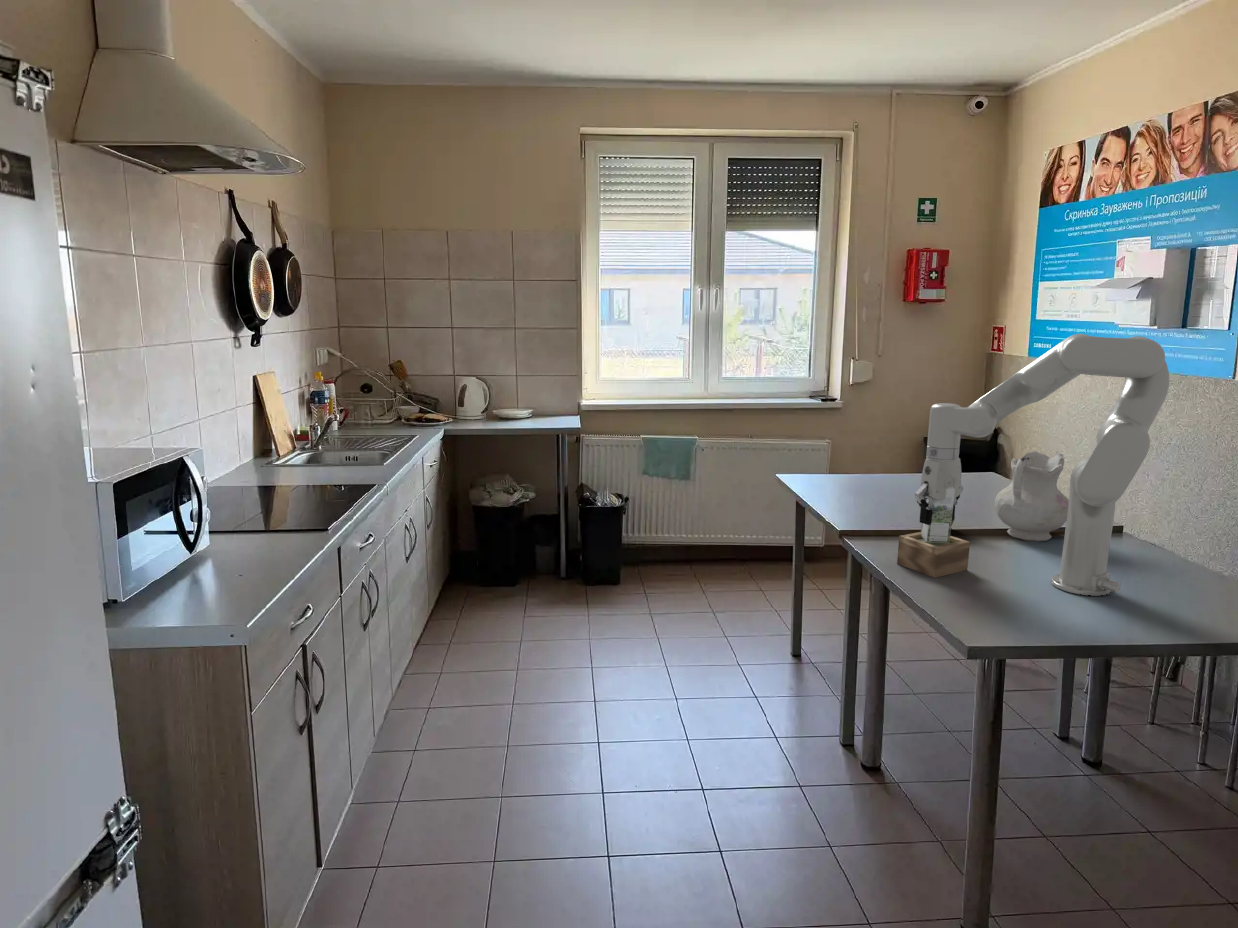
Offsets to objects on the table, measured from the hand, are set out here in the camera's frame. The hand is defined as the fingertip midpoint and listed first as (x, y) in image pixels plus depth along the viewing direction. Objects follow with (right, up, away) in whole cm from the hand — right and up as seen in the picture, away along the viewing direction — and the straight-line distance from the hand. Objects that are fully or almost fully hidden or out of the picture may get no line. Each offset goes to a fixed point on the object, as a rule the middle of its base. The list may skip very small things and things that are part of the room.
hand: (936, 521), depth 208 cm
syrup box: (0, -5, +1) cm, 5 cm away
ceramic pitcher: (+38, -7, +30) cm, 49 cm away
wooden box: (0, -12, +3) cm, 12 cm away
